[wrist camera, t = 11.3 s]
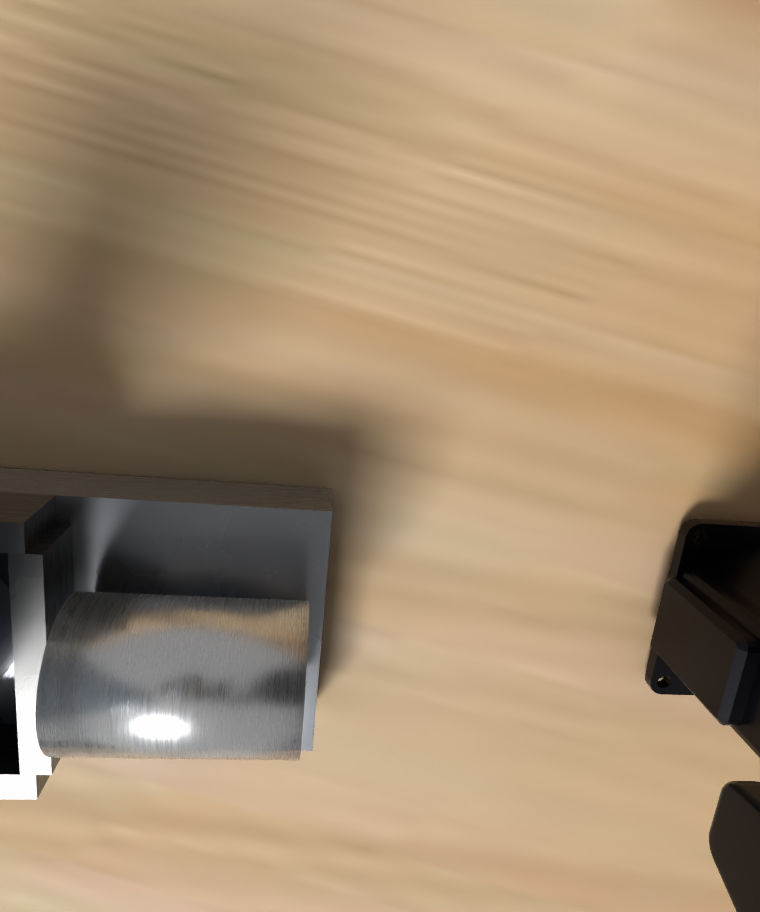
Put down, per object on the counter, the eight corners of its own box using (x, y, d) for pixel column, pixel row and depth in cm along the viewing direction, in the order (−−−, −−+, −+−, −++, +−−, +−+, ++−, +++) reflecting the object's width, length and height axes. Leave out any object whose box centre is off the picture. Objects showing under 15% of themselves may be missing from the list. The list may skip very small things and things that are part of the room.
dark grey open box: (330, 488, 20) (337, 575, 14) (312, 709, 22) (311, 862, 16) (-200, 454, 18) (-437, 539, 13) (-166, 698, 20) (-354, 866, 15)
